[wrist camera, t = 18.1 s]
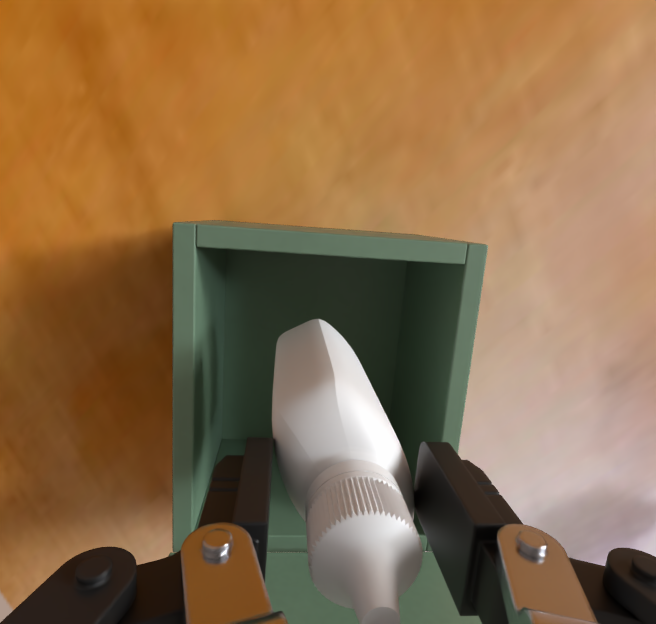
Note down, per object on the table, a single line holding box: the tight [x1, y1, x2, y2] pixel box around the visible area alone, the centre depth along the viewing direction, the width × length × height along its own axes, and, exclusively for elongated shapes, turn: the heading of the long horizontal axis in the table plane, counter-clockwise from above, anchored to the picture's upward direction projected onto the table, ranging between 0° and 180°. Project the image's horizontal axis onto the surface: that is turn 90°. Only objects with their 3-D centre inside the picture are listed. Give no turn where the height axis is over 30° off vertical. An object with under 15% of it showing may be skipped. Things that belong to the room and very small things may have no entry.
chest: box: [173, 220, 488, 552], centre depth 24 cm, size 15×13×10 cm
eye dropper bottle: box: [272, 319, 423, 624], centre depth 14 cm, size 4×6×12 cm
